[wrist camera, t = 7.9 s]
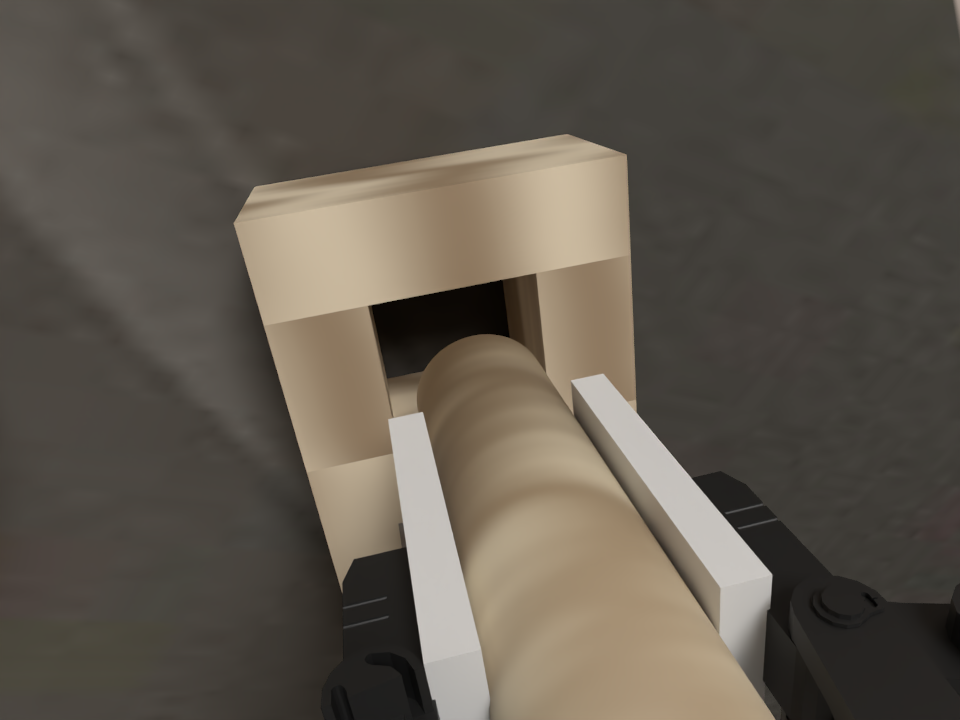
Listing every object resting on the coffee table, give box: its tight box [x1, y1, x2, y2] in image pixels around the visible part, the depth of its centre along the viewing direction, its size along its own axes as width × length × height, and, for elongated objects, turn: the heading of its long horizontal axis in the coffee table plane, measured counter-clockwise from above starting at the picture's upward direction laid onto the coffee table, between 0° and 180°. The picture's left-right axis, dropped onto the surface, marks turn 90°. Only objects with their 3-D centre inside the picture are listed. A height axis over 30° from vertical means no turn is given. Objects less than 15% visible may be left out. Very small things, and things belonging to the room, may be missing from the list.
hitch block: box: [234, 134, 637, 591], centre depth 23 cm, size 10×22×7 cm, turn 8°
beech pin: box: [417, 334, 775, 720], centre depth 11 cm, size 4×4×15 cm
